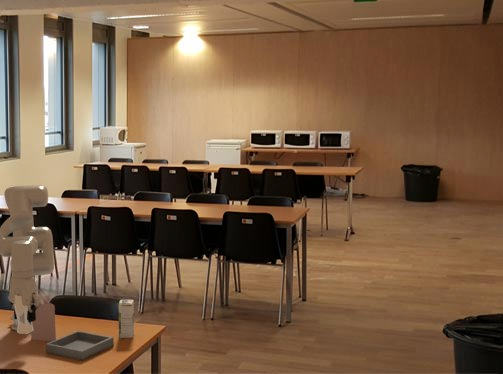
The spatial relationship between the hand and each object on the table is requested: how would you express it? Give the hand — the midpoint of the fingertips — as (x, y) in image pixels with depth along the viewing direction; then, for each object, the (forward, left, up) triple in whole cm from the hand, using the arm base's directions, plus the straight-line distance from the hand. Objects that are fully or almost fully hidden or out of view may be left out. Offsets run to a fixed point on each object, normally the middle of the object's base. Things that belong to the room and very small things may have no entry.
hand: (25, 319), depth 271 cm
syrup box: (+21, +34, -14) cm, 42 cm away
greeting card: (-6, +15, -14) cm, 22 cm away
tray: (+15, +13, -14) cm, 24 cm away
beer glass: (0, 0, -5) cm, 5 cm away
